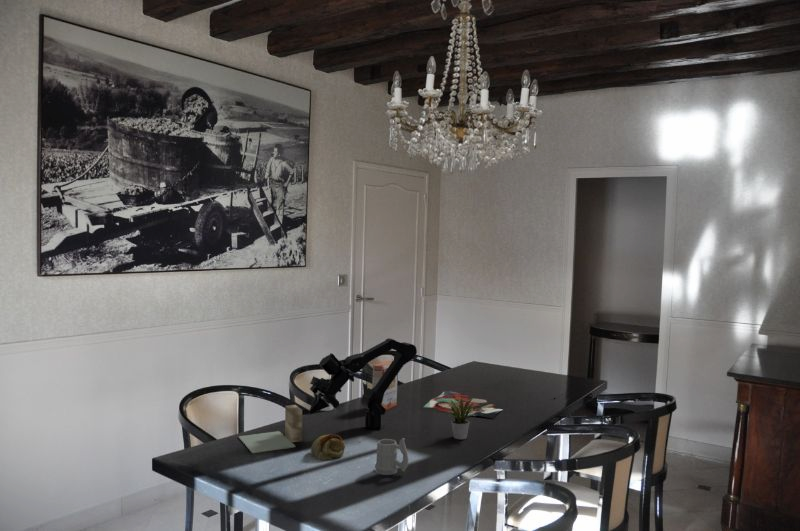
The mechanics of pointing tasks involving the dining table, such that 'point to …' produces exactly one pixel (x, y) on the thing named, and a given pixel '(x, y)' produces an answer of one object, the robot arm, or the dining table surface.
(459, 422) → the house plant
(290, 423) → the tan rounded block
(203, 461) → the dining table surface
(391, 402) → the cracker box
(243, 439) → the mat
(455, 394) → the multicolor patterned cloth
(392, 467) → the mug
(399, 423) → the dining table surface
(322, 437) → the pastry
